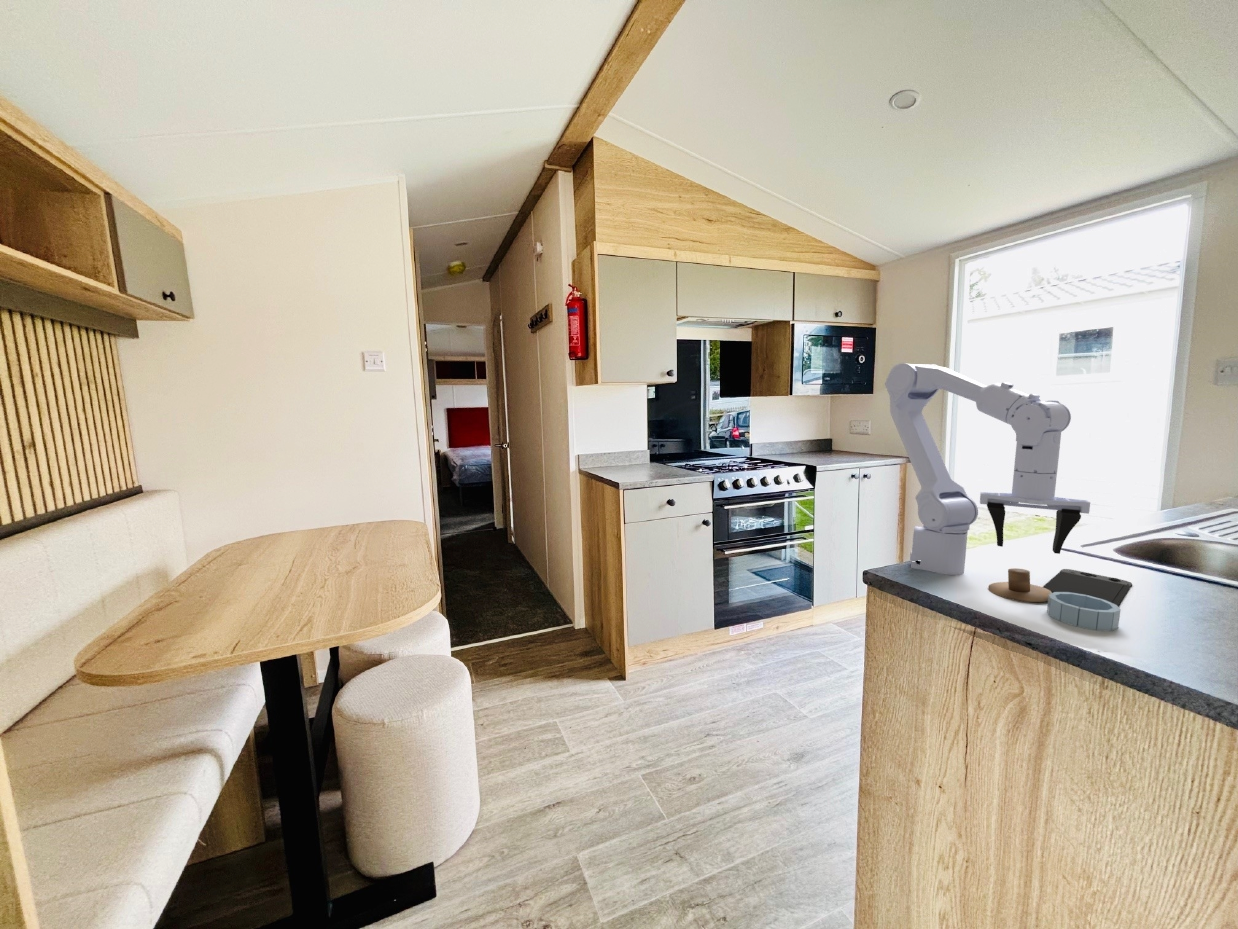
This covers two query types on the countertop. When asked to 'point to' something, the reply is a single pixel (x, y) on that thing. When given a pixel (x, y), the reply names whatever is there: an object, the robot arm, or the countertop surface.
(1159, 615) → the countertop surface
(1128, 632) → the countertop surface
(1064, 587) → the gaming console
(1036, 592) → the lid
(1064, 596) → the bowl
